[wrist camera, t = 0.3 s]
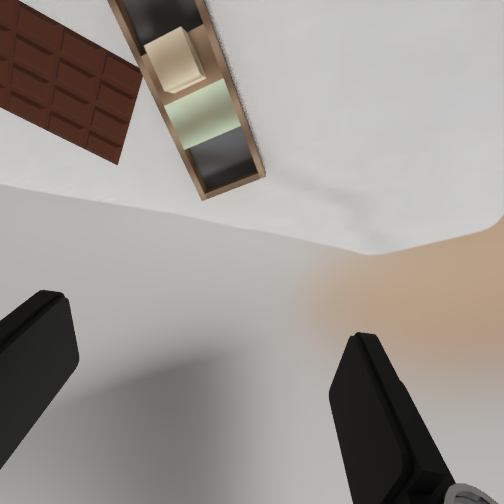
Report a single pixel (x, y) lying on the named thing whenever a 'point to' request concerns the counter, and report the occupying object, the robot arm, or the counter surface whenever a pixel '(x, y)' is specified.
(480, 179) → the counter surface
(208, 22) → the box
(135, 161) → the counter surface
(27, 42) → the chocolate bar
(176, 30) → the block
